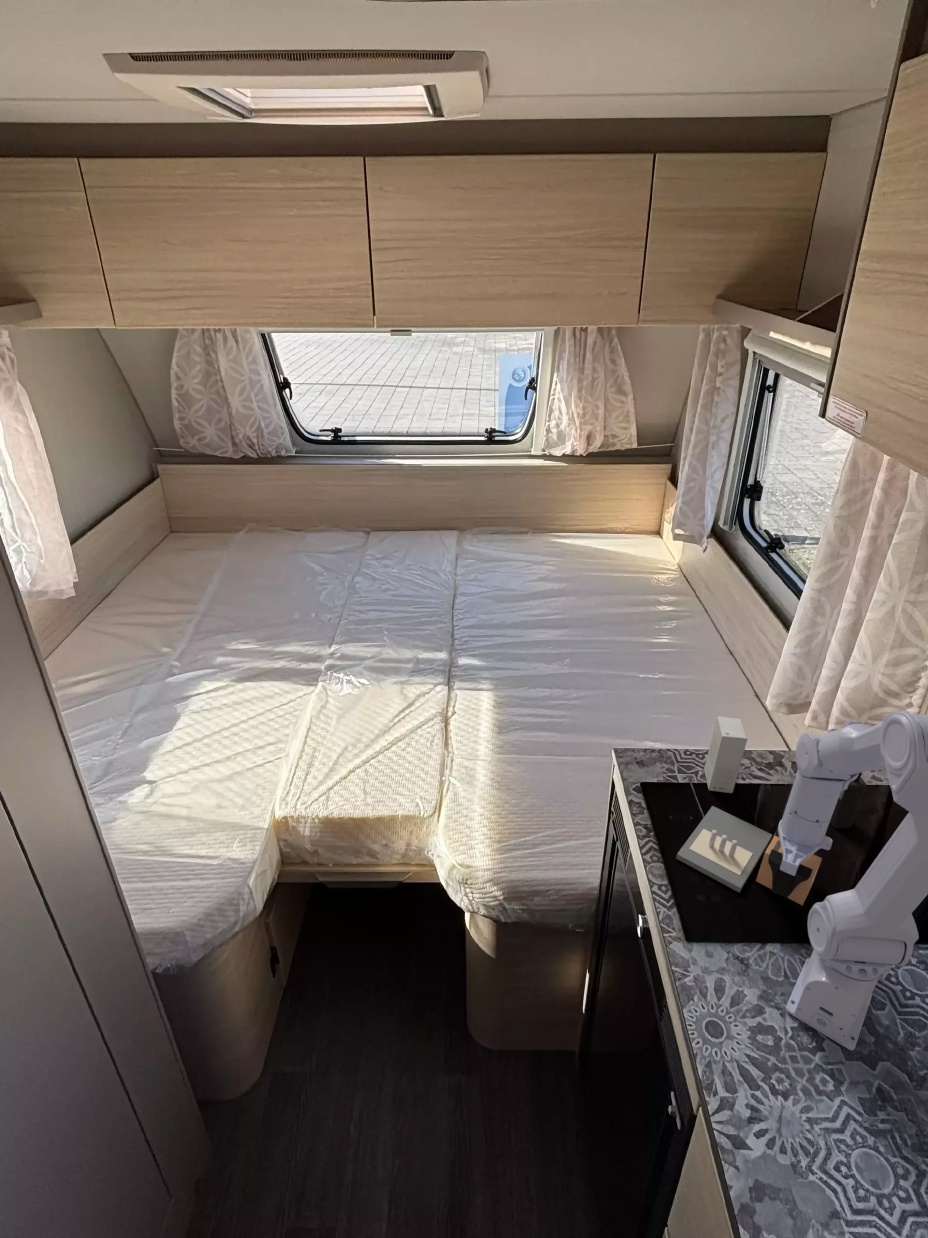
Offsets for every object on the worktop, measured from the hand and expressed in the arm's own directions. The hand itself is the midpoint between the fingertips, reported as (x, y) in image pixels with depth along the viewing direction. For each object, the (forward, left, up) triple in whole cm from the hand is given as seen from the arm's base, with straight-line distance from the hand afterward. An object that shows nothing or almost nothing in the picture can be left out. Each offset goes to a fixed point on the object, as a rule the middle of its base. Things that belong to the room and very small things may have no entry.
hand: (786, 876), depth 105 cm
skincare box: (+16, +16, -2) cm, 23 cm away
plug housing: (0, 0, -2) cm, 2 cm away
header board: (+1, +10, -2) cm, 10 cm away
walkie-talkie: (+20, -2, -2) cm, 20 cm away
